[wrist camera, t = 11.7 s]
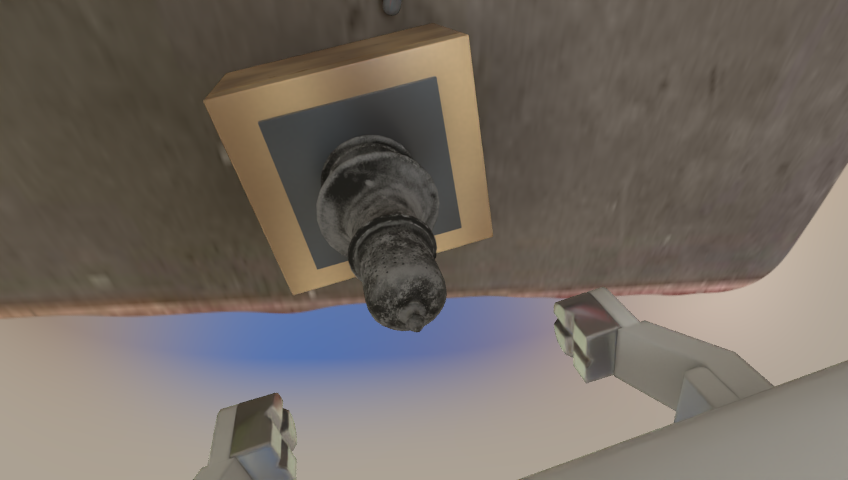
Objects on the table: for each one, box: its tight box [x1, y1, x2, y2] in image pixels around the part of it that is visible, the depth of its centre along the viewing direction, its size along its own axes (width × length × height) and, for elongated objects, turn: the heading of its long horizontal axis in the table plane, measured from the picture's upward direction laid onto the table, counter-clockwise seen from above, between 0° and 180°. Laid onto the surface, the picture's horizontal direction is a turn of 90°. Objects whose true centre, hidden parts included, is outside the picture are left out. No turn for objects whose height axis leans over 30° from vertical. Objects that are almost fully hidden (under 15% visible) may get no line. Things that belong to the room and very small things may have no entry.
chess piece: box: [316, 135, 447, 332], centre depth 19 cm, size 6×6×12 cm
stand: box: [203, 23, 493, 295], centre depth 27 cm, size 13×12×7 cm
